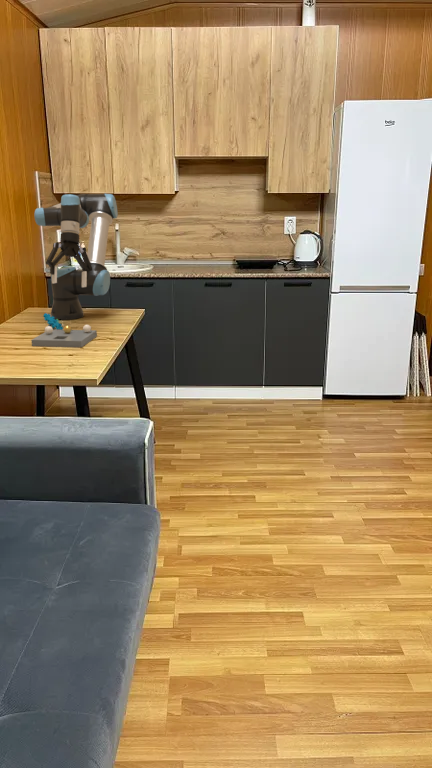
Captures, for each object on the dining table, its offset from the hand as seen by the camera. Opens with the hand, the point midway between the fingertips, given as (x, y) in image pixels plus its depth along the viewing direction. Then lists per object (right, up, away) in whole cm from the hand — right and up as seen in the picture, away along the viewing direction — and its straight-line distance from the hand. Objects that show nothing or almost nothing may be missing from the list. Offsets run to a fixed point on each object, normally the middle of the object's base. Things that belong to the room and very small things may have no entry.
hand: (69, 285), depth 232 cm
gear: (-9, -18, +11) cm, 23 cm away
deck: (0, -24, -8) cm, 25 cm away
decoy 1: (-6, -19, -7) cm, 21 cm away
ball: (+1, -19, -6) cm, 20 cm away
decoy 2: (+8, -19, -5) cm, 21 cm away
